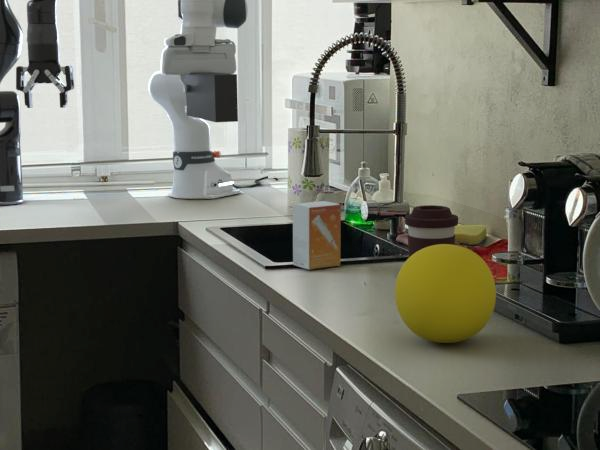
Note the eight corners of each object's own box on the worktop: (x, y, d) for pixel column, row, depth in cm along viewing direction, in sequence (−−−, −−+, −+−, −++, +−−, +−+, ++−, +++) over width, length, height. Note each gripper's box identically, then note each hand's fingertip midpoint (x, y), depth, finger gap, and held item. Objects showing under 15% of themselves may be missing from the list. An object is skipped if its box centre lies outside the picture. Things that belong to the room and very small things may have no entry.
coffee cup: (400, 280, 202) (400, 204, 200) (450, 279, 203) (451, 203, 201) (409, 292, 193) (410, 212, 190) (462, 291, 193) (463, 211, 191)
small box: (309, 270, 213) (308, 207, 211) (292, 265, 218) (291, 203, 216) (341, 265, 217) (341, 203, 215) (324, 260, 222) (323, 200, 220)
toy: (462, 323, 171) (464, 233, 168) (512, 348, 157) (515, 250, 154) (379, 333, 165) (379, 240, 163) (423, 359, 151) (424, 258, 149)
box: (238, 121, 260) (236, 74, 258) (215, 122, 258) (214, 74, 256) (207, 114, 286) (205, 71, 284) (186, 115, 284) (185, 72, 282)
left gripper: (75, 42, 264) (78, 106, 267) (20, 42, 265) (24, 107, 268) (66, 42, 256) (69, 108, 259) (9, 42, 258) (13, 108, 260)
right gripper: (231, 39, 285) (232, 90, 287) (158, 39, 278) (160, 92, 280) (239, 39, 279) (239, 91, 282) (164, 39, 272) (165, 93, 274)
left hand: (46, 107), depth 263 cm, fingers open, 8 cm apart
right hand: (199, 91), depth 281 cm, fingers closed on box, 6 cm apart
